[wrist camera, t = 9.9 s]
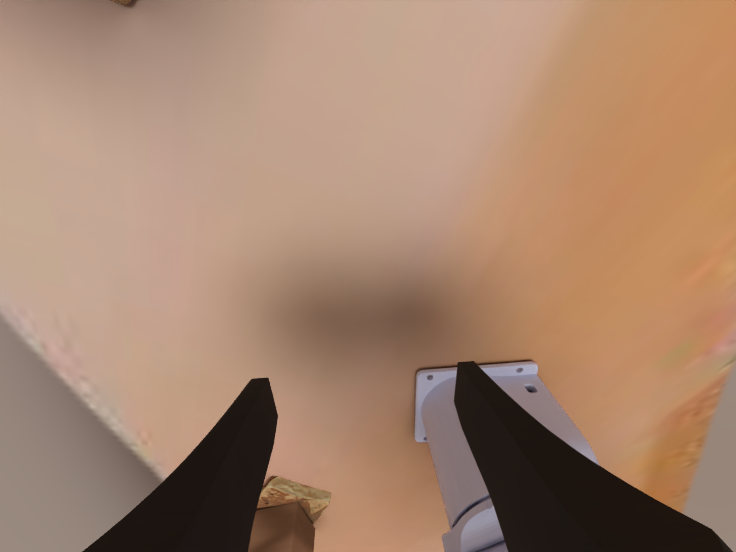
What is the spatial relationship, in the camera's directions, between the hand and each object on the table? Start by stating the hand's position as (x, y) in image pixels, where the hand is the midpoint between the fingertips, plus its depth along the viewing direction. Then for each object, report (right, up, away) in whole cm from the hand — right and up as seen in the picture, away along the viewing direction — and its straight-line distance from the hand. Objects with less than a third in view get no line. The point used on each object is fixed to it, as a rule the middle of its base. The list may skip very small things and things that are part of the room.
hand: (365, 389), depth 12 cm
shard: (-7, -19, +20) cm, 28 cm away
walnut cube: (-8, -19, +18) cm, 28 cm away
